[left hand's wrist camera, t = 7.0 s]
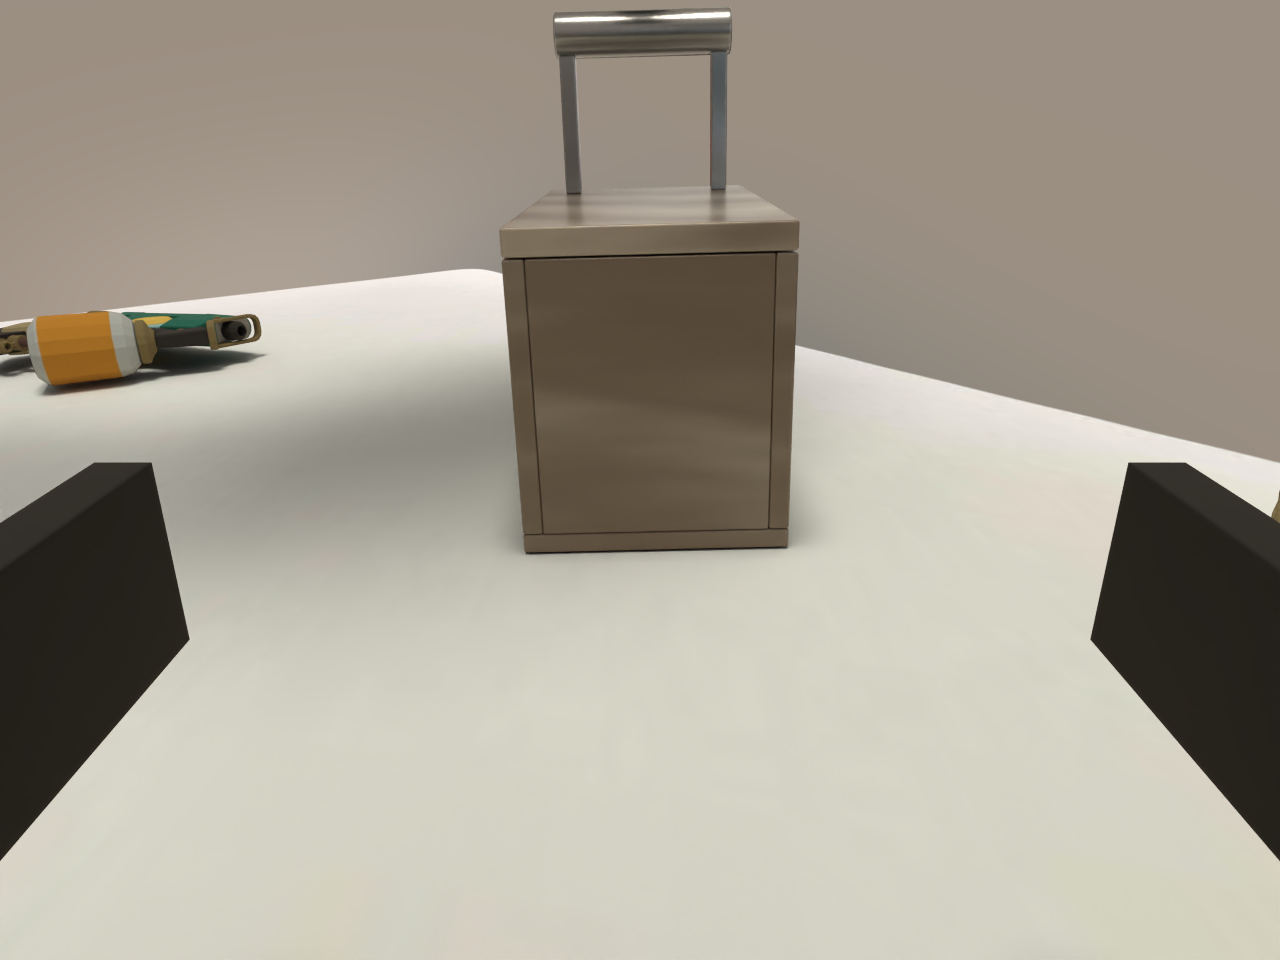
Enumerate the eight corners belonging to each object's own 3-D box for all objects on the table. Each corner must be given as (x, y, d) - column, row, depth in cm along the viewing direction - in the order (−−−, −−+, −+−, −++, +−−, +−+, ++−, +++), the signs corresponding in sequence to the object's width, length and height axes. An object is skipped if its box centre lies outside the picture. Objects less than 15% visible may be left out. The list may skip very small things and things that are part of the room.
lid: (552, 210, 46) (540, 20, 43) (740, 205, 46) (743, 14, 43) (500, 258, 29) (476, -49, 26) (798, 250, 29) (810, -59, 26)
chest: (562, 413, 49) (550, 212, 45) (739, 408, 49) (742, 207, 45) (524, 553, 33) (501, 260, 29) (788, 547, 33) (798, 251, 29)
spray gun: (-40, 373, 63) (182, 342, 73) (27, 400, 52) (278, 359, 62) (-57, 311, 62) (171, 288, 72) (8, 326, 51) (268, 296, 61)
